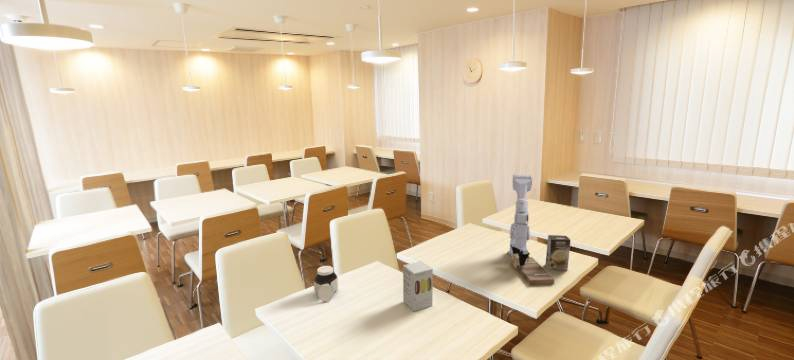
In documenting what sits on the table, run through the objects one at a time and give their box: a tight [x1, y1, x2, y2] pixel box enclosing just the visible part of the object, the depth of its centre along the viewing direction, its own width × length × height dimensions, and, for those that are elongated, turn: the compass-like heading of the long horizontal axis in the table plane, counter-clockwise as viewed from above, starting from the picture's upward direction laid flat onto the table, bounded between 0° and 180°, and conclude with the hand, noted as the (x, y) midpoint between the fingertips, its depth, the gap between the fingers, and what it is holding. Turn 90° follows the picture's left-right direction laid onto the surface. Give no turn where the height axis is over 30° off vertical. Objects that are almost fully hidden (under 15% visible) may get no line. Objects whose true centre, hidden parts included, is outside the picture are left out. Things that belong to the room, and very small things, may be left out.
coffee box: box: [545, 234, 572, 271], centre depth 188 cm, size 9×6×16 cm
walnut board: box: [510, 256, 555, 286], centre depth 184 cm, size 24×11×3 cm, turn 4°
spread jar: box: [313, 265, 339, 302], centre depth 166 cm, size 12×11×12 cm
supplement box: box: [402, 260, 434, 312], centre depth 158 cm, size 10×9×17 cm
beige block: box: [511, 254, 530, 269], centre depth 190 cm, size 5×8×6 cm, turn 94°
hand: (519, 261), depth 190 cm, fingers open, 7 cm apart
